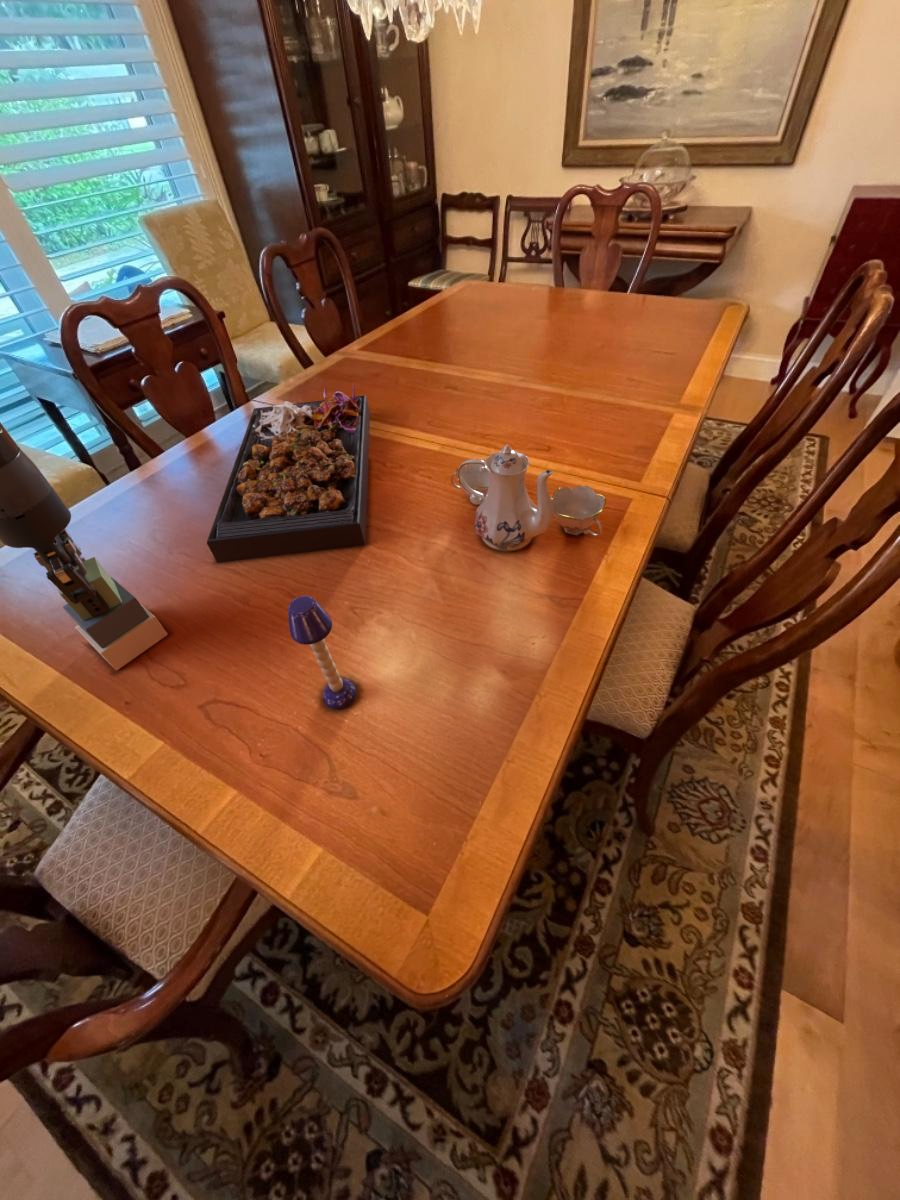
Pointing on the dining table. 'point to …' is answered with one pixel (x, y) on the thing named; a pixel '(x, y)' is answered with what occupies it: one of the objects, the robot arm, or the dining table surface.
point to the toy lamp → (319, 647)
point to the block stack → (120, 629)
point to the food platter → (297, 481)
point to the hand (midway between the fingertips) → (97, 599)
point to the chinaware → (522, 501)
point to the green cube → (101, 584)
